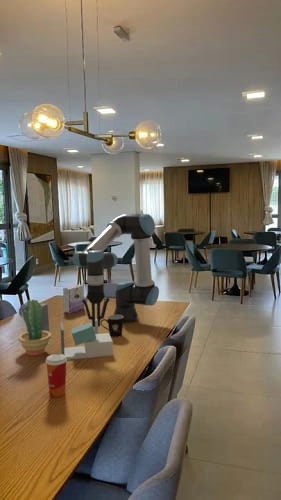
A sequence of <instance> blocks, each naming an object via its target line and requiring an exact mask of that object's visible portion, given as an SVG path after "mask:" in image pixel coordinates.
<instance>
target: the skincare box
mask: <svg viewBox="0 0 281 500" xmlns="http://www.w3.org/2000/svg"><path fill="white" fill-rule="evenodd" d="M40 305H41V306H42V320H41V327H42V331H48V332H50V322H49V321H50V320H49V307H48V303H40Z"/></svg>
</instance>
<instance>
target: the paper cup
mask: <svg viewBox="0 0 281 500" xmlns="http://www.w3.org/2000/svg"><path fill="white" fill-rule="evenodd" d="M67 361H68V360H67V359H66V356H65V355H63V354H62V353H60V354H59V353H56V354H54V353H53V354H50V355H47V357H46V360H45V364H46V372H47V382H48V391H49V393H48V394H49V396H50V397H52V398H61V397H63V396H65V394H66V377H67V375H66V373H67Z"/></svg>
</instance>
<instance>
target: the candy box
mask: <svg viewBox="0 0 281 500" xmlns="http://www.w3.org/2000/svg"><path fill="white" fill-rule="evenodd" d="M62 290H63V291H62V294H63V299H62V300H63V313H65V314H68V315H70V314H72V313H76V312H79V311H83V310H85V304H84V303H83V302H82V299H84V298H85V288H84V285H82V284H74V285H70V286H67V287H63V288H62Z"/></svg>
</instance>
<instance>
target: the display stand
mask: <svg viewBox="0 0 281 500" xmlns="http://www.w3.org/2000/svg"><path fill="white" fill-rule="evenodd" d="M59 324H60V347H61V348H60V349H61V350H60V351H61V354H63V355H65V356H66V359H67V361H69V360H71V361H72V360H79V359H89V358H97V357H98V358H99V357H109V356H114V347H113V346H114V345H113V344H114V342H113V341H114V340H113V339H112V337H111V336H110V333H109V332H105V333H98V334H95V335H96V339H93V340H91V341H88V342H85V343H83V344H84V345H81V346H72V347H70V346H69V347H65V332H64V331H65V330H64V323H63V321H60V323H59Z"/></svg>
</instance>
